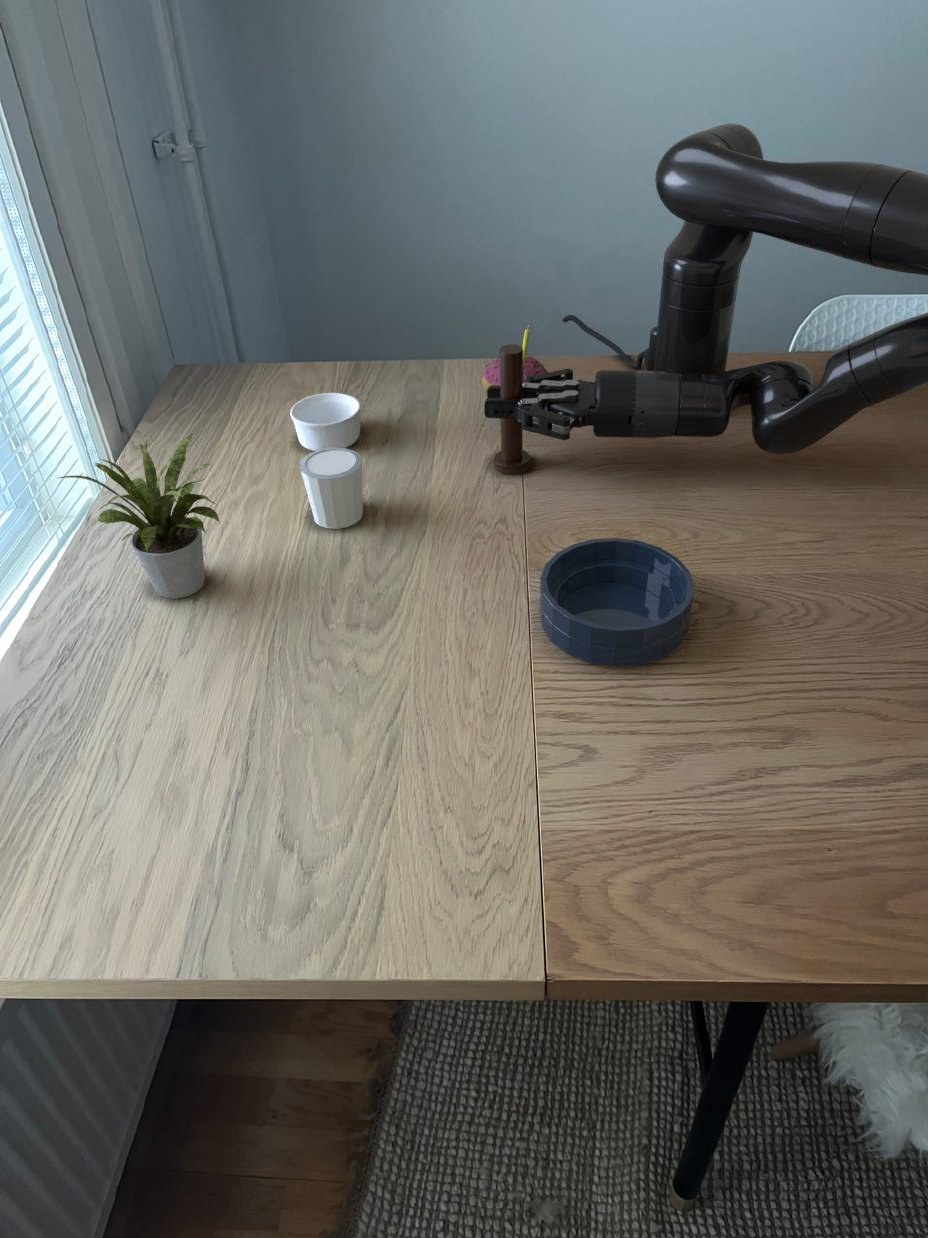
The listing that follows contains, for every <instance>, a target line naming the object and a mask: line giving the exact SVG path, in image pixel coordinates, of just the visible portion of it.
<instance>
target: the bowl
mask: <svg viewBox="0 0 928 1238" xmlns="http://www.w3.org/2000/svg"><path fill="white" fill-rule="evenodd" d="M539 585H540V588H539V590H540V592H539V617H540V623H541V628H542V630H543V632H544V634H546V636H547V638H548V639H549V640H550V642H551V643H552V644H553V645H555V646H556V647H557V648H559V649H560V650H561V651H563V652H564V653H566V654H567V655H569V656H570V657H573V658H576V659H579V660H581V661H583V662H586V663H589V664H592V665H593V664H594V665H600V666H606V667H613V668H620V667H621V668H623V667H638V666H643V665H645V664H650V663H652V662H656V661H659V660H662V659H664V658H665V657H667V656H668V655H670V654H672V653H673V652H675V651H676V650H677V649H679V647H680V645H681V644H682V642H684V640H685V639H686V637H687V636H688V631H689V626H690V625H689V624H690V618H691V612H692V606H693V599H694V592H695V586H696V585H695V582H694V579H693V577H692V575H691V572H690V570H689V568H688V567H686V565H685V564H684V563H683V562H682V561H681V560H680V559H679V558H678V557H677V556H676V555H674V554H672V553H671V552H669V551H667V550H665V549H663V548H662V547H660V546H657V545H654V544H651V543H647V542H644V541H641V540H637V539H629V538H623V537H622V538H621V537H607V538H593V539H592V538H591V539H589V540H584V541H580V542H577V543H573V544H571V545H569V546H568V547H565V548H564V549H561V550H560V551H558V552H556V553H555V554H554V555H553V556H552V557H551V558H550V559H549V561H547V563H545V565H544V567H543V570H542V573H541V575H540V584H539Z"/></svg>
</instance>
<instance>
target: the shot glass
mask: <svg viewBox="0 0 928 1238" xmlns="http://www.w3.org/2000/svg"><path fill="white" fill-rule="evenodd" d="M299 468H300V473H301V476H302V479H303V483H304V487H305V490H306V491H305V492H306V494H307V497H308V501H309V505H310V509H311V512H312V516H313V520H314V523H316V524H317V525H318V526H319V527H321V528H325V529H327V530H328V529H329V530H339V529H346V528H349V527H351V526H354V525H355V524H357V523H358V522H359V521H360V520H361V519H362V517H363V515H364V505H363V504H364V503H363V502H364V501H363V459H362V456H361V455H360V454H359V453H358V452H356V451H355V450H353V449H350V448H347V447H346V448H334V447H332V448H325V449H320V450H317V451H312V452H310V453H309V454H307V455H306V456H304V457H303V458H302V459H301V460H300V463H299Z"/></svg>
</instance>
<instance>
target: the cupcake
mask: <svg viewBox="0 0 928 1238" xmlns="http://www.w3.org/2000/svg"><path fill="white" fill-rule="evenodd" d="M530 328H531V323H529V324H528V326H527V328H526V329H525V330H524V334H523V339H522V340H523V341H522V345H521V347H522V348H523V383H524V382H526V378H527V377H528V376H532V375H537V374H542V373H548V372H549V371H548V370H547V369H546V368H545V367H544V364H542V362H541V361H539V360H538V359H536V358H535V357H532V356H529V355H527V353H528V347H529V341H530V335H531V329H530ZM484 367H485V368H484V370H483V372H482V373H483V375H482V386H483V388H484V389H485V390H487V389H488V387H489V386H491V385H499V386H500V356H498V357H496V358H495V359H493V360H492V361H490V362H489V363H487V365H485V366H484ZM539 383H541V382H539Z"/></svg>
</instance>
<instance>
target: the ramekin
mask: <svg viewBox="0 0 928 1238" xmlns="http://www.w3.org/2000/svg"><path fill="white" fill-rule="evenodd" d="M289 413H290V418H291V420H292V422H293V424H294V428H295V432H296V435H297V438H298V441H299V443H300V445H301V446H302V447H303V448H305V449H307V450H310V451H312V452H315V451H317V450H320V449H325V448H332V447H334V448H346V449H347V448H349V447H350V446H352V445H353V444H354V443H356V442H357V440H358V439H359V437H360V435H361V417H360V415H361V414H360V413H361V403H360V401H359V400H358V399H357V398H356V397H354V396H352V395H350V394H346V393H341V392H323V393H316V394H312V395H309V396H306V397H304V398H302V399H300V400H298V401H297V402H296V403H294V405H292V407H291V408H290V411H289Z"/></svg>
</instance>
